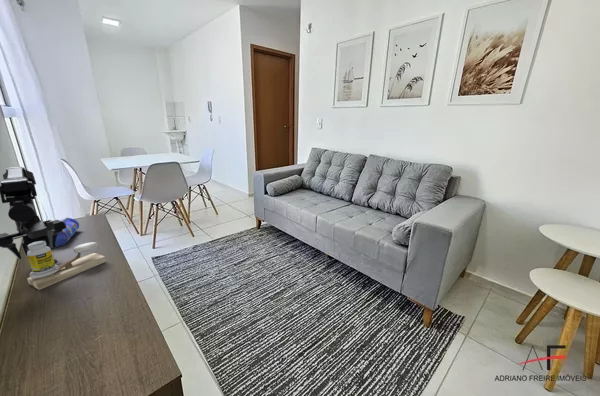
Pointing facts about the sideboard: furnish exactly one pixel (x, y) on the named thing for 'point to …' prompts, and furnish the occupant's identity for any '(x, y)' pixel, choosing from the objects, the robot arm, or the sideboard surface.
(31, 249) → the pill bottle
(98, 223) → the sideboard surface
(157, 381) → the sideboard surface
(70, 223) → the pencil case
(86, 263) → the balance
